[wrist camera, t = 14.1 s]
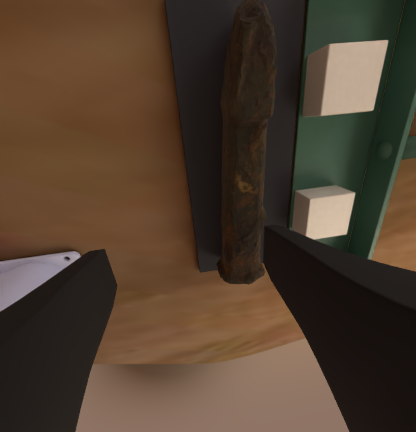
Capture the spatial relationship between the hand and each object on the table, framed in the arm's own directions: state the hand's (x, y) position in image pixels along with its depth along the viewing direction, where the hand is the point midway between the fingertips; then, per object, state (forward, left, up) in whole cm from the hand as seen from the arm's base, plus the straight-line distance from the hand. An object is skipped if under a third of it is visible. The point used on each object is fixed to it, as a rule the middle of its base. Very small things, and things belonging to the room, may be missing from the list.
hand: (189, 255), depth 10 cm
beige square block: (+12, -3, -9) cm, 15 cm away
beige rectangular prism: (+12, +7, -9) cm, 17 cm away
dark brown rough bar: (+4, +2, -9) cm, 10 cm away
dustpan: (+18, +2, -9) cm, 20 cm away
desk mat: (+5, +2, -9) cm, 11 cm away
